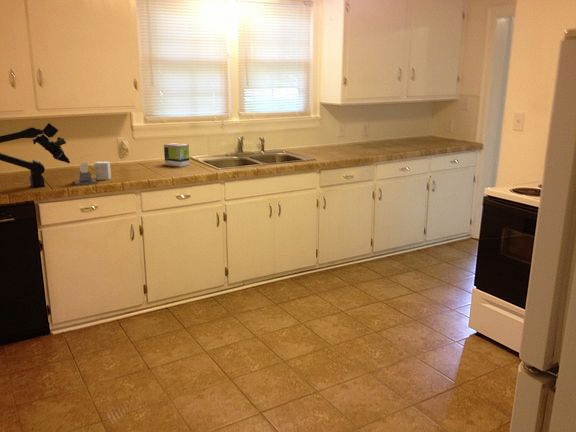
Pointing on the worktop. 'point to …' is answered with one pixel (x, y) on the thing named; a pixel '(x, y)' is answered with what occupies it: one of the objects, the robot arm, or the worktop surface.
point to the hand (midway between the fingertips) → (69, 161)
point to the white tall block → (84, 167)
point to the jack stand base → (85, 179)
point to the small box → (102, 170)
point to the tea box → (176, 154)
